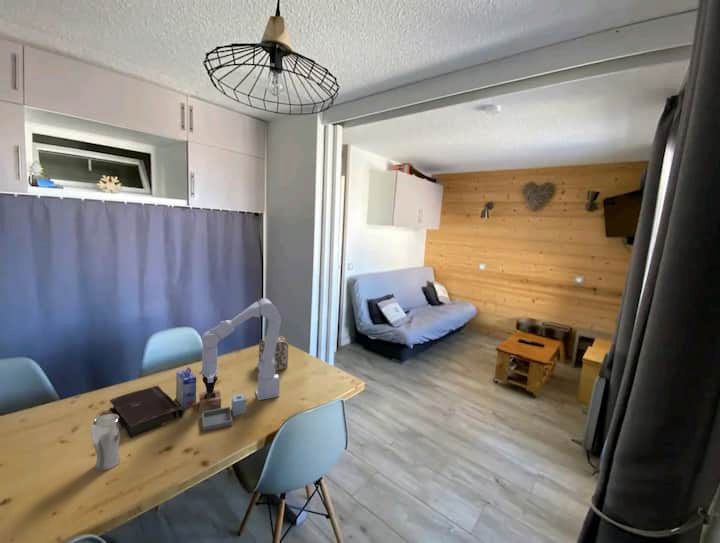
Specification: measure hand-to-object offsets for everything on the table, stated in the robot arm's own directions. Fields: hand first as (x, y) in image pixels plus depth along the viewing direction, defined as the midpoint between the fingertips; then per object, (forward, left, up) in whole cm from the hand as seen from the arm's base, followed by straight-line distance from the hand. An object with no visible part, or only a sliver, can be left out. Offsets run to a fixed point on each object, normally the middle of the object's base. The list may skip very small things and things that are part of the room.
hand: (209, 390), depth 135 cm
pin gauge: (0, 0, -3) cm, 3 cm away
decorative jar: (-32, -27, -7) cm, 42 cm away
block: (-11, +9, -6) cm, 15 cm away
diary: (+23, -2, -7) cm, 24 cm away
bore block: (0, 0, -6) cm, 6 cm away
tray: (-2, +13, -6) cm, 15 cm away
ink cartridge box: (+9, -6, -6) cm, 13 cm away
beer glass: (+30, +24, -6) cm, 39 cm away
